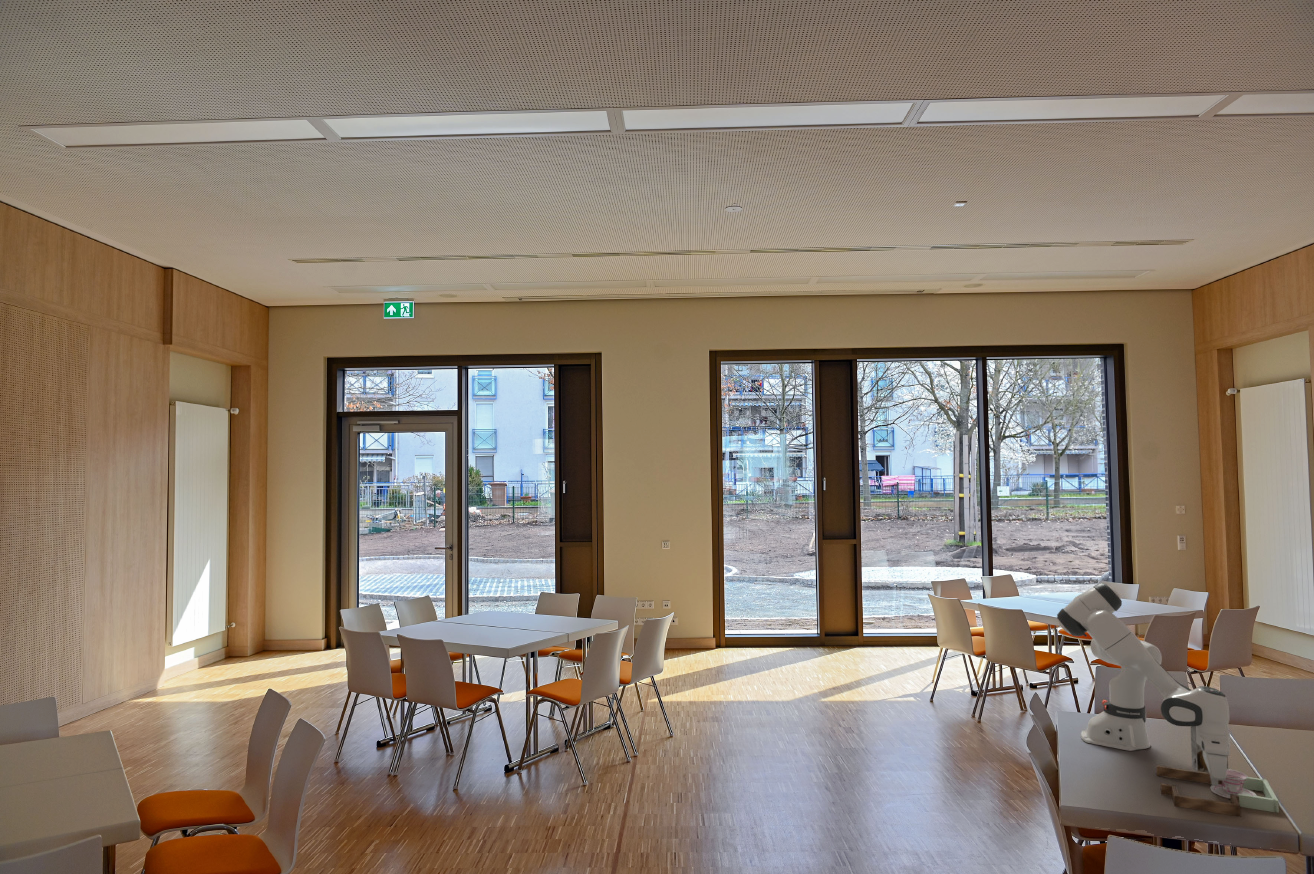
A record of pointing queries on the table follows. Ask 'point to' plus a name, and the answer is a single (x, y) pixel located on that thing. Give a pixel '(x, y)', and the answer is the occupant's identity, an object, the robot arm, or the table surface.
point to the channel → (1196, 803)
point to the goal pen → (1255, 801)
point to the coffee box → (1198, 754)
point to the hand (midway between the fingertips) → (1214, 784)
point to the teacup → (1232, 785)
